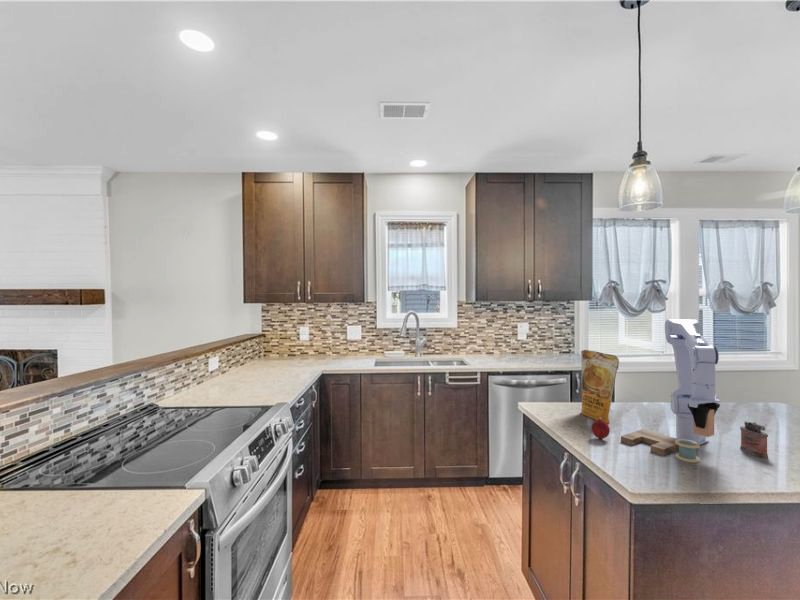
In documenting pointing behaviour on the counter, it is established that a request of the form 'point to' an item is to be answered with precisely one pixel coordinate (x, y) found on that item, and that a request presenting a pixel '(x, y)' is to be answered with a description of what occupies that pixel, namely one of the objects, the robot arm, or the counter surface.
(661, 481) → the counter surface
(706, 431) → the peg
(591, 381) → the pancake mix bag
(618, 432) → the counter surface
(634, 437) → the notched board
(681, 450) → the spool
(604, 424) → the onion
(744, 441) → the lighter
